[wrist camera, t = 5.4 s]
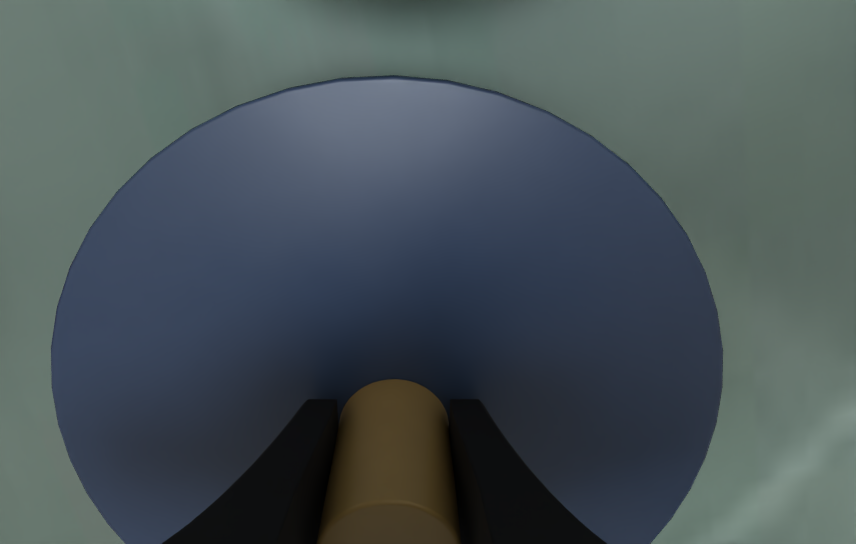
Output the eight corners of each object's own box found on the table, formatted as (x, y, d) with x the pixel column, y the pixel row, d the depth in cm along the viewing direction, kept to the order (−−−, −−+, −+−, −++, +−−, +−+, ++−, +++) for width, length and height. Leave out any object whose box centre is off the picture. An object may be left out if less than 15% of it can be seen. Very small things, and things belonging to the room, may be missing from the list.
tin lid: (764, 81, 11) (991, 99, 7) (647, 611, 16) (733, 813, 12) (7, 65, 11) (-271, 75, 6) (135, 618, 16) (31, 832, 12)
